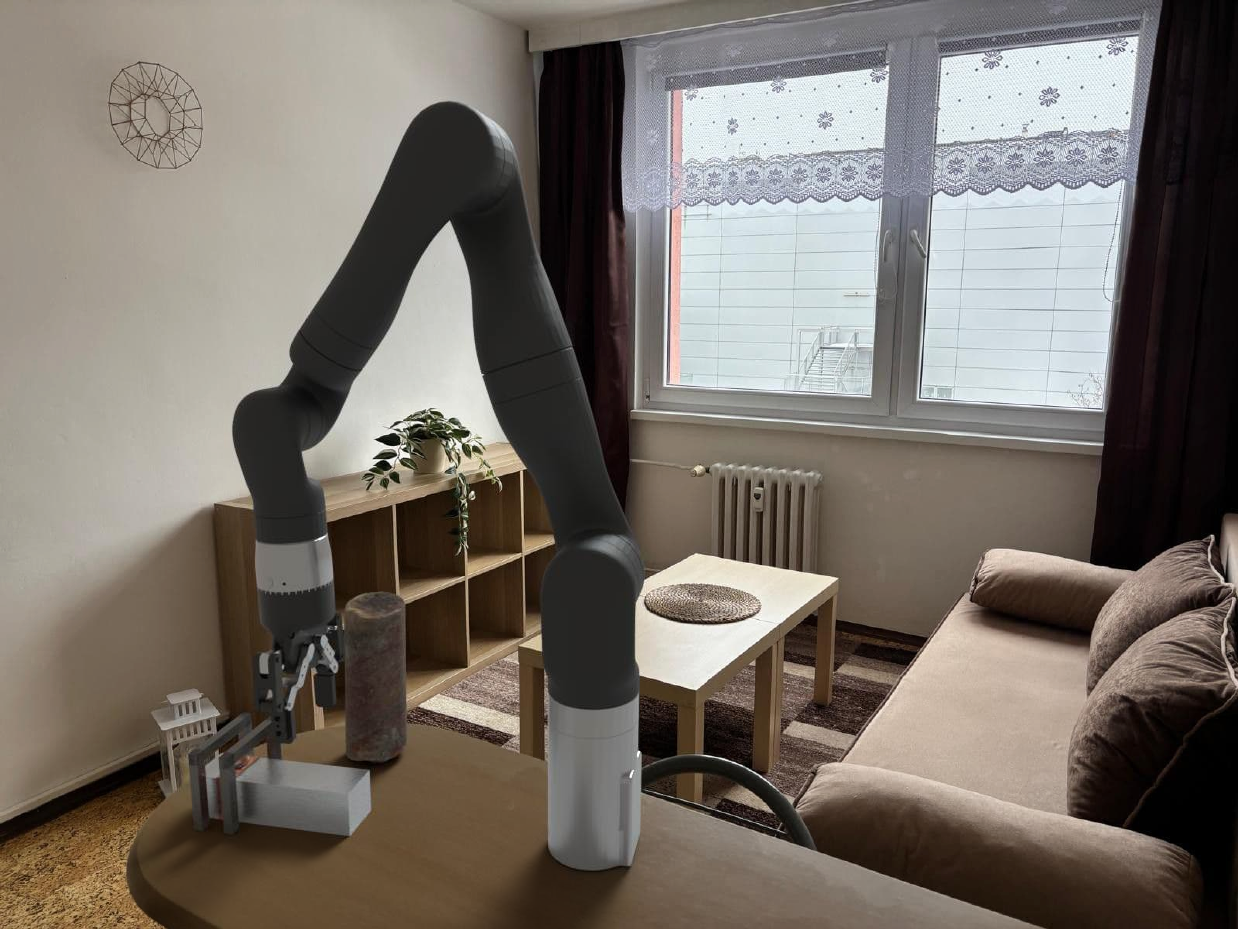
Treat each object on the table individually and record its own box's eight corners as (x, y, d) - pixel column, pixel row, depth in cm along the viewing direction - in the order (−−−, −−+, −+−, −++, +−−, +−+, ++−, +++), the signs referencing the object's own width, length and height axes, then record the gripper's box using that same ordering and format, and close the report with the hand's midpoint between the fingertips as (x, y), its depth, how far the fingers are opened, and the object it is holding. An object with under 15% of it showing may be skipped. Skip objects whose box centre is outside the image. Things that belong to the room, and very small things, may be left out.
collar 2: (283, 786, 106) (279, 716, 104) (232, 835, 96) (227, 758, 94) (275, 785, 106) (271, 715, 104) (224, 833, 96) (218, 757, 95)
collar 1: (255, 782, 106) (251, 713, 105) (202, 831, 97) (196, 755, 95) (247, 782, 106) (243, 712, 105) (194, 830, 97) (188, 754, 95)
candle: (417, 742, 116) (412, 592, 113) (398, 772, 109) (392, 612, 105) (359, 739, 117) (353, 589, 113) (336, 768, 110) (328, 609, 106)
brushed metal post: (371, 811, 101) (369, 768, 100) (349, 838, 96) (347, 792, 95) (224, 793, 104) (221, 751, 103) (196, 818, 99) (192, 774, 98)
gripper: (292, 602, 87) (304, 759, 90) (360, 560, 101) (369, 697, 104) (221, 598, 89) (235, 752, 92) (297, 557, 102) (308, 693, 105)
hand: (306, 723), depth 98 cm, fingers open, 8 cm apart
